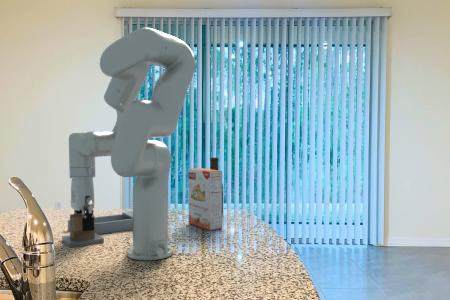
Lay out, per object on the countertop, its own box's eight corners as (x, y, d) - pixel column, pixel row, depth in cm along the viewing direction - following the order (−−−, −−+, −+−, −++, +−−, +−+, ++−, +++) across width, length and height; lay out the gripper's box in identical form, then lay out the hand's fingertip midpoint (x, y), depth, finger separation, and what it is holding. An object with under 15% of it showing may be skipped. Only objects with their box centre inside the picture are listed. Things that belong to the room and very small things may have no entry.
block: (94, 238, 119) (94, 215, 119) (74, 241, 116) (74, 217, 116) (89, 234, 124) (89, 212, 124) (70, 236, 121) (69, 214, 121)
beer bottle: (202, 214, 163) (202, 157, 162) (219, 212, 166) (219, 157, 166) (209, 217, 156) (209, 158, 155) (226, 216, 159) (226, 157, 159)
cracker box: (187, 224, 145) (187, 168, 144) (200, 221, 148) (200, 167, 148) (208, 231, 134) (208, 170, 133) (222, 228, 137) (222, 170, 137)
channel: (148, 227, 140) (147, 215, 140) (75, 237, 125) (75, 224, 125) (136, 221, 149) (136, 210, 149) (67, 230, 135) (67, 218, 134)
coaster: (103, 242, 119) (103, 238, 119) (69, 247, 113) (69, 243, 113) (94, 235, 127) (94, 231, 127) (62, 240, 122) (62, 236, 122)
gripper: (63, 171, 125) (64, 224, 125) (77, 175, 110) (78, 235, 111) (87, 170, 129) (88, 221, 129) (103, 173, 115) (104, 231, 115)
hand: (83, 227), depth 120 cm, fingers open, 9 cm apart
